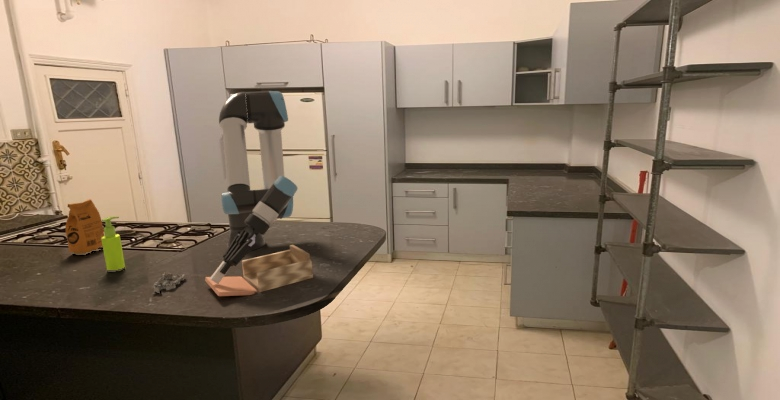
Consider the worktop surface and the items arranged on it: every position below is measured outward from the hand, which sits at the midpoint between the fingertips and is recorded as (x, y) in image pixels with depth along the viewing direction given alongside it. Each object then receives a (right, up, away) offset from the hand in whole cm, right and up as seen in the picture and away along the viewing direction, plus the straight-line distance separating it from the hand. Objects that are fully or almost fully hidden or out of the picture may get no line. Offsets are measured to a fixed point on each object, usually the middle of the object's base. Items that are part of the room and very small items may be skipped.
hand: (213, 281), depth 138 cm
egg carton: (-19, -4, +11) cm, 22 cm away
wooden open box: (+17, -2, +13) cm, 21 cm away
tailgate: (+9, -3, +7) cm, 11 cm away
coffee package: (-75, +3, +55) cm, 93 cm away
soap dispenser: (-48, -1, +30) cm, 57 cm away
